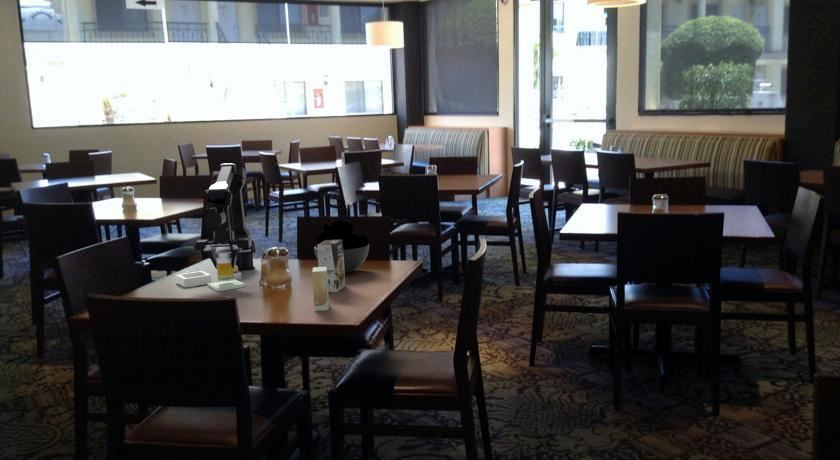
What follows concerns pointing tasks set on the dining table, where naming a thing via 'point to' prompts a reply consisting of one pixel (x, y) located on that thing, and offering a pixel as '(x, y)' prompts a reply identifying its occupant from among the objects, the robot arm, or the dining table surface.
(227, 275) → the supplement bottle
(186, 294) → the dining table surface
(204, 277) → the white square tray
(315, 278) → the skincare box
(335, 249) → the coffee box
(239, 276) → the plunger collar
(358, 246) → the coal bowl
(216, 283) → the pad
